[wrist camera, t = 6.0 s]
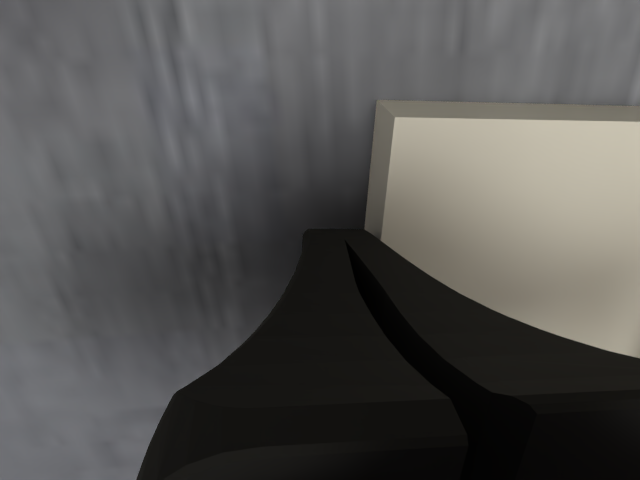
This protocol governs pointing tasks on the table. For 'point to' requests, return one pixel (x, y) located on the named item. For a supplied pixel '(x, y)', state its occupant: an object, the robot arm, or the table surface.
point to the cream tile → (517, 209)
